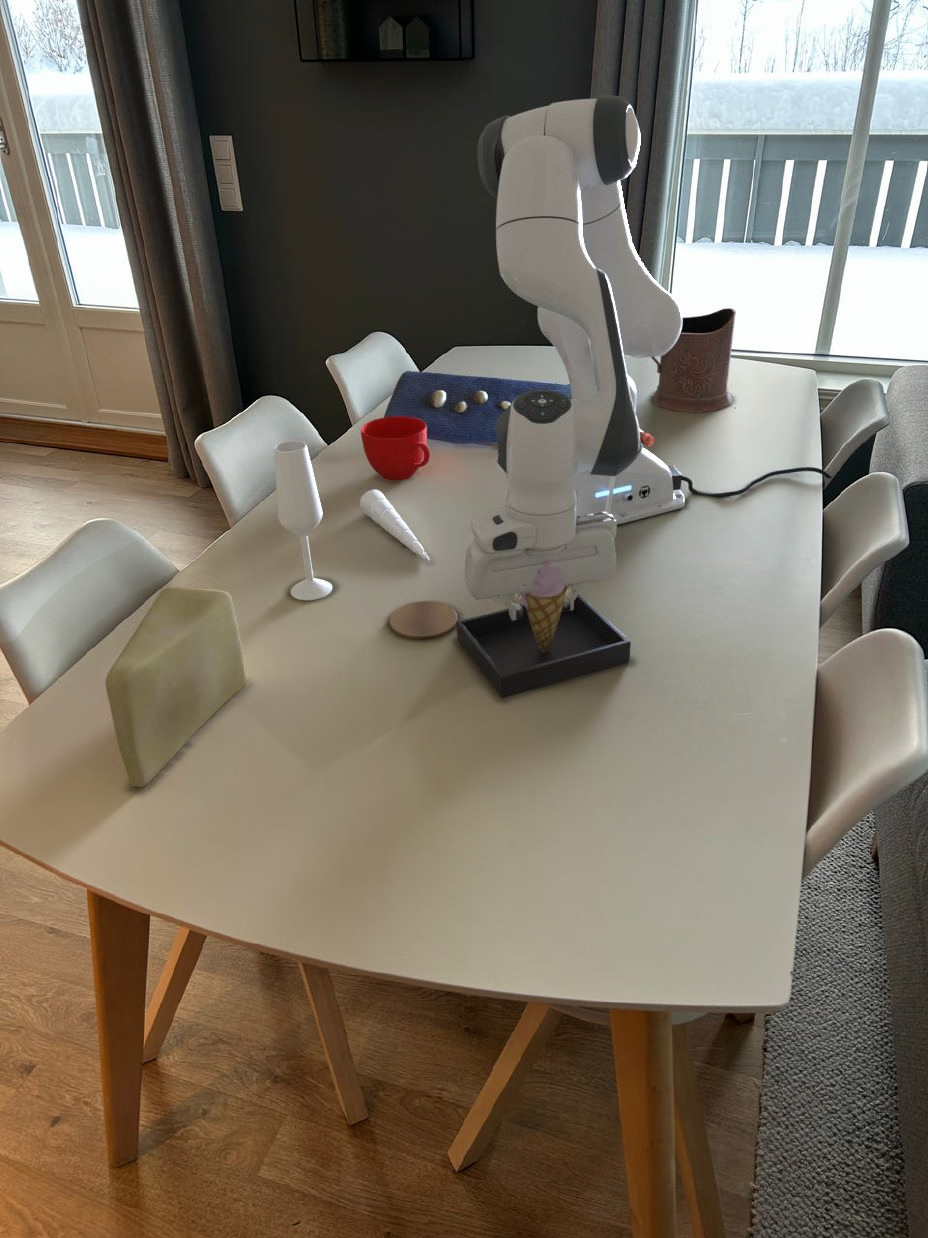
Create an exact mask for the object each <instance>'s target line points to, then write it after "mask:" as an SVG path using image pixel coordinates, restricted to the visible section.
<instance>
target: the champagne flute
mask: <svg viewBox="0 0 928 1238" xmlns="http://www.w3.org/2000/svg"><path fill="white" fill-rule="evenodd" d="M307 445H308V444H307V443H306V442H305V441H302V440H285V441H282V442H279V443H277V444H275V445H274V446H273V456H274V473H275V474H274V475H275V490H276V507H277V519H278V521H279V523H280V525H282V527H284V528H285V529H286V530H287V531H288V532H290V533H292V534H293V535H295V536H298V537H299V540H300V549H301V553H302V560H303V561H302V562H303V568H304V574H305V579H304V580H302V581H300V582H298V583H296V584H294V585H293V586H292V587H291V589H290V595H291V596H292V597H293V598H294V599H296V600H300V601H315V600H318V599H321V598H324V597H326V596H328V595H330V594H331V592H332V591H333V585H332V583H331V582H329V581H327V580H324V579H320V578H316V577H314V571H313V565H312V558H311V550H310V544H309V543H310V542H309V538H308V537H309V536H308V535H310V534H311V533H313V531H314V530H315V529H316V528H317V527H318V526H319V524H320V522H321V520H322V518H323V515H324V514H323V508H322V504H321V500H320V496H319V492H318V488H317V483H316V479H315V474H314V470H313V466H312V462H311V458H310V453H309V449H308V446H307Z"/></svg>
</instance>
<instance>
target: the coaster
mask: <svg viewBox="0 0 928 1238" xmlns="http://www.w3.org/2000/svg"><path fill="white" fill-rule="evenodd" d="M457 621H458V614H457V612H456V611H455V609H454V608H453V607H451V606H450V605H447V604H445V603H443V602H438V601H431V600H430V601H415V602H412V603H408V604H405V605H403V606H400V607H399V608H397V609H395V611H393V613H391V616H390V617H389V626H390V628H391V630H392V631H393V632H394V633H395V634H397V635H398V636H400V637H403V638H406V639H411V640H431V639H436V638H438V637H441V636H444V635H446V634H448V633H449V632H451V631H452V630H454V628H455V627H456V626H457V623H456V622H457Z"/></svg>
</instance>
